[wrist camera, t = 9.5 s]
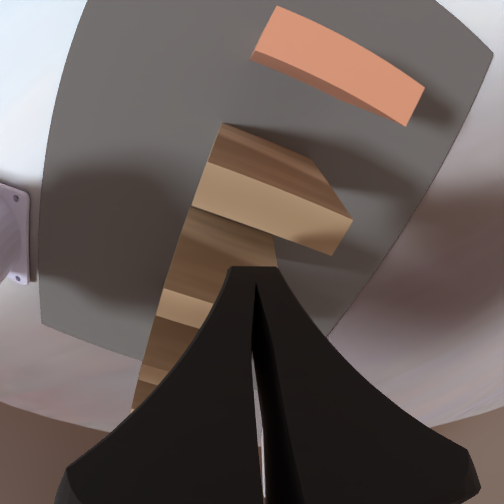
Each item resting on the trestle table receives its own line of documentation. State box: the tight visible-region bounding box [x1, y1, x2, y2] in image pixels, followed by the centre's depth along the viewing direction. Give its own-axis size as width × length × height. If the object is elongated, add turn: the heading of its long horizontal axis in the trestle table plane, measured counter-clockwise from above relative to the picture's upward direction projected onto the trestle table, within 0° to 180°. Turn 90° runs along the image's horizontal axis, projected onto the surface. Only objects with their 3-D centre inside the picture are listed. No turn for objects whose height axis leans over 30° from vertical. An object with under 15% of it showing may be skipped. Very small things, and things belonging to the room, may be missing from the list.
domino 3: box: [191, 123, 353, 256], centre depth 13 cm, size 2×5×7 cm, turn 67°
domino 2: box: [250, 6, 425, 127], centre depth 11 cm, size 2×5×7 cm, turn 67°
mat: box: [38, 0, 493, 390], centre depth 17 cm, size 22×32×1 cm
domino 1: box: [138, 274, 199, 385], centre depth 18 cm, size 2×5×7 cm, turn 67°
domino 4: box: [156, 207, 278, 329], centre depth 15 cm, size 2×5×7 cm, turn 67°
